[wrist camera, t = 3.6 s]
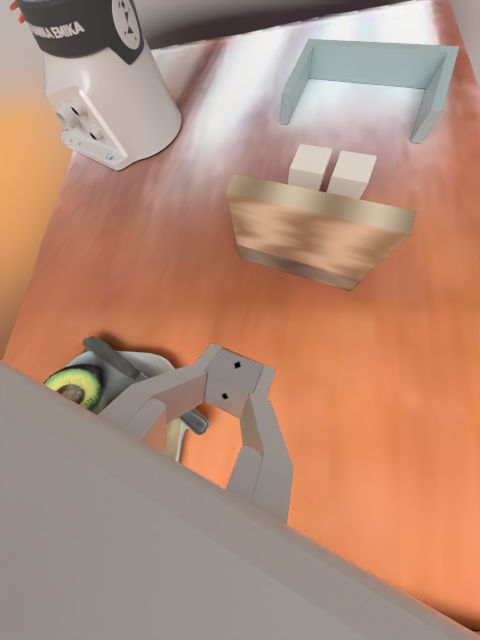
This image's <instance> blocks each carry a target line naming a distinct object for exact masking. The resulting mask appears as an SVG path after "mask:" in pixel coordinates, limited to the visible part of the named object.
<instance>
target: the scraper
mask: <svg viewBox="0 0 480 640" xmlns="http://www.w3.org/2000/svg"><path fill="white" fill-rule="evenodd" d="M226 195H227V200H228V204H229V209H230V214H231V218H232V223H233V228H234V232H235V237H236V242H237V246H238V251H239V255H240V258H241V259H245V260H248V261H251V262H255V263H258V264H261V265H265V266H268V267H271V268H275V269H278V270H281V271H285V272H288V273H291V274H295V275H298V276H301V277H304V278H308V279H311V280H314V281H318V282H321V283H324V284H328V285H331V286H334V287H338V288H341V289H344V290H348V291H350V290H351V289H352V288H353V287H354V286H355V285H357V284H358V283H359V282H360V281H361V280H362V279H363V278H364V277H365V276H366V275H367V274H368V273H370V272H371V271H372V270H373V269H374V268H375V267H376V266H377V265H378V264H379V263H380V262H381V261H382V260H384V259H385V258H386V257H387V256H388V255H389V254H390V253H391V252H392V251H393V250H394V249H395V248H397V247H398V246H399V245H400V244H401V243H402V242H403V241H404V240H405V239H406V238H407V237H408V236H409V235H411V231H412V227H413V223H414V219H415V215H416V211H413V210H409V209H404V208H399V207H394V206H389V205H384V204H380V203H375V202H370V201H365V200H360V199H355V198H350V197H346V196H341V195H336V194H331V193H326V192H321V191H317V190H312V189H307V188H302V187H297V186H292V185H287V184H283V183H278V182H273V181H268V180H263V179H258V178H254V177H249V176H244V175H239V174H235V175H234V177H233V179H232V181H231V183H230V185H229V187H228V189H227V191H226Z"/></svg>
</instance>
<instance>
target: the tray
mask: <svg viewBox="0 0 480 640" xmlns="http://www.w3.org/2000/svg"><path fill="white" fill-rule="evenodd" d="M458 49H459V46H441V45H420V44H400V43H379V42H359V41H338V40H318V39H308V41H307V43H306V45H305V48H304V50H303V52H302V54H301V56H300V58H299V60H298V62H297V64H296V66H295V68H294V70H293V72H292V74H291V76H290V78H289V80H288V82H287V84H286V86H285V88H284V90H283V92H282V102H281V117H280V124H286V125H288V122H289V120H290V118H291V116H292V114H293V112H294V109H295V107H296V105H297V103H298V101H299V99H300V96H301V94H302V92H303V90H304V88H305V86H306V83H307V81H308V79H309V78H311V79H322V80H333V81H344V82H356V83H367V84H378V85H389V86H400V87H411V88H422V89H426V90H425V94H424V97H423V101H422V104H421V108H420V111H419V114H418V118H417V121H416V125H415V128H414V132H413V135H412V138H411V142H412V143H419V144H420V143H421V141H422V140H423V138H424V137H425V136H426V134H427V133H428V131H429V130H430V128H431V127H432V125H433V124H434V123H435V121H436V120H437V118H438V117H439V115H440V114H441V112H442V111H443V107H444V103H445V99H446V96H447V92H448V88H449V84H450V80H451V76H452V72H453V69H454V65H455V61H456V57H457V53H458Z"/></svg>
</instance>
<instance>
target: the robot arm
mask: <svg viewBox="0 0 480 640" xmlns="http://www.w3.org/2000/svg"><path fill="white" fill-rule="evenodd" d="M18 7H19V8H20V10H21V13H20V16H19V19H18V21H19V22H20V23H23V22H24V21H25V20H26V22H27V24H28V26H29V28H30V29H31V31H32V33H33V35H34V37H35V39H36V41H37V43H38V45H39V47H40V48H41V50H42V51H43V58H44V89H45V95H46V98H47V100H48V101H49V103H50V105H51V106H52V108H53V109H54V110H55V112H56V115H57V116H58V118H59V119H60V120H61V121H62V123H64V125H65V126H64V128H63V131H62V134H61V140H62V142H63V143H64V144H65V145H66V146H67V147H69V148H71V149H73V150H75V151H77V152H79V153H81V154H83V155H85V156H87V157H89V158H91V159H93V160H95V161H97V162H99V163H102V164H104V165H106V166H108V167H110V168H112V169H114V170H121V169H123V168H125V167H127V166H128V165H130V164H131V163H133V162H135V161H137V160H140V159H144V158H147V157H150V156H152V155H154V154H156V153H158V152H159V151H161V150H162V149H164V148H165V147H166V146H167V145H169V144H170V143H171V142H172V140H173V139H174V138H175V137H176V135H177V134H178V132H179V130H180V127H181V122H182V118H181V113H180V111H179V109H178V108H177V106H176V104H175V102H174V100H173V99H172V97H171V94H170V92H169V90H168V88H167V86H166V85H165V82H164V80H163V78H162V76H161V74H160V71H159V69H158V67H157V65H156V62H155V60H154V58H153V55H152V53H151V51H150V49H149V46H148V44H147V42H146V40H145V37H144V35H143V33H142V31H141V27H140V23H139V20H138V16H137V12H136V8H135V4H134V1H133V0H15V1H14V3H12V5H11V6H10V10H14V9H16V8H18ZM275 371H276V370H275V368H273V367H270V366H267V365H265V364H262V363H260V362H257V361H255V360H252V359H250V358H247V357H245V356H242V355H240V354H238V353H235V352H233V351H231V350H229V349H226V348H224V347H221V346H219V345H217V344H214V343H212V344H211V345H210V346H209V347H208V348H207V349H206V350H205V352H204V353H203V354H202V355H201V356H200V358H199V359H198V360H197V361H196V362H195V363H194V365H193V366H192V365H187V366H184V367H181V368H178V369H175V370H172V371H169V372H166V373H163V374H161V375H158V376H155V377H152V378H149V379H146V380H143V381H140V382H137V383H134V384H132V385H130V386H129V387H128V388H127V389H126V390H125V391H123V392H122V393H121V394H120V395H119V396H118V397H117V398H116V399H115V400H113V401H112V402H111V403H110V404H109V405H108V406H107V407H106V408H105V409H103V410H102V411H101V412H100V413H99V414H98V415H96V414H94V413H92V412H91V411H89V410H87V409H86V408H84V407H82V406H80V405H79V404H77V403H75V402H73V401H72V400H70V399H68V398H66V397H65V396H63V395H61V394H59V393H58V392H56V391H54V390H53V389H51V388H49V387H47V386H46V385H44V384H42V383H40V382H39V381H37V380H35V379H33V378H32V377H30V376H28V375H26V374H25V373H23V372H21V371H19V370H18V369H16V368H14V367H13V366H11V365H9V364H7V363H6V362H4V361H2V360H0V640H480V635H478V634H476V633H475V632H473V631H471V630H469V629H468V628H466V627H464V626H462V625H461V624H459V623H457V622H455V621H454V620H452V619H450V618H448V617H447V616H445V615H443V614H442V613H440V612H438V611H436V610H435V609H433V608H431V607H429V606H428V605H426V604H424V603H422V602H421V601H419V600H417V599H415V598H414V597H412V596H410V595H409V594H407V593H405V592H403V591H402V590H400V589H398V588H396V587H395V586H393V585H391V584H389V583H388V582H386V581H384V580H382V579H381V578H379V577H377V576H376V575H374V574H372V573H370V572H369V571H367V570H365V569H363V568H362V567H360V566H358V565H356V564H355V563H353V562H351V561H350V560H348V559H346V558H344V557H343V556H341V555H339V554H337V553H336V552H334V551H332V550H330V549H329V548H327V547H325V546H323V545H322V544H320V543H318V542H317V541H315V540H313V539H311V538H310V537H308V536H306V535H304V534H303V533H301V532H299V531H297V530H296V529H294V528H292V527H290V526H289V525H287V518H288V510H289V502H290V493H291V485H292V476H293V466H292V463H291V460H290V457H289V454H288V451H287V448H286V445H285V442H284V439H283V436H282V433H281V430H280V428H279V425H278V422H277V419H276V416H275V413H274V410H273V407H272V404H271V401H269V400H267V397H268V394H269V391H270V387H271V384H272V381H273V377H274V374H275ZM203 401H204V402H206V403H209V404H211V405H213V406H215V407H218V408H220V409H222V410H224V411H226V412H228V413H230V414H232V415H233V416H235V417H237V418H239V419H240V427H241V435H242V442H243V447H241V449H240V452H239V454H238V457H237V459H236V461H235V464H234V466H233V469H232V471H231V473H230V476H229V478H228V481H227V484H226V487H225V489H224V488H223V487H221V486H219V485H218V484H216V483H214V482H212V481H211V480H209V479H207V478H205V477H204V476H202V475H200V474H198V473H197V472H195V471H193V470H192V469H190V468H188V467H186V466H185V465H183V464H181V463H179V462H178V461H176V460H174V459H172V458H171V457H169V456H167V455H165V454H164V453H162V450H163V449H164V447H165V445H166V444H167V427H166V425H167V424H168V423H170V422H172V421H173V420H175V419H177V418H178V417H180V416H182V415H183V414H185V413H187V412H188V411H190V410H192V409H193V408H195V407H197V406H198V405H200V404H202V403H203Z"/></svg>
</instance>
